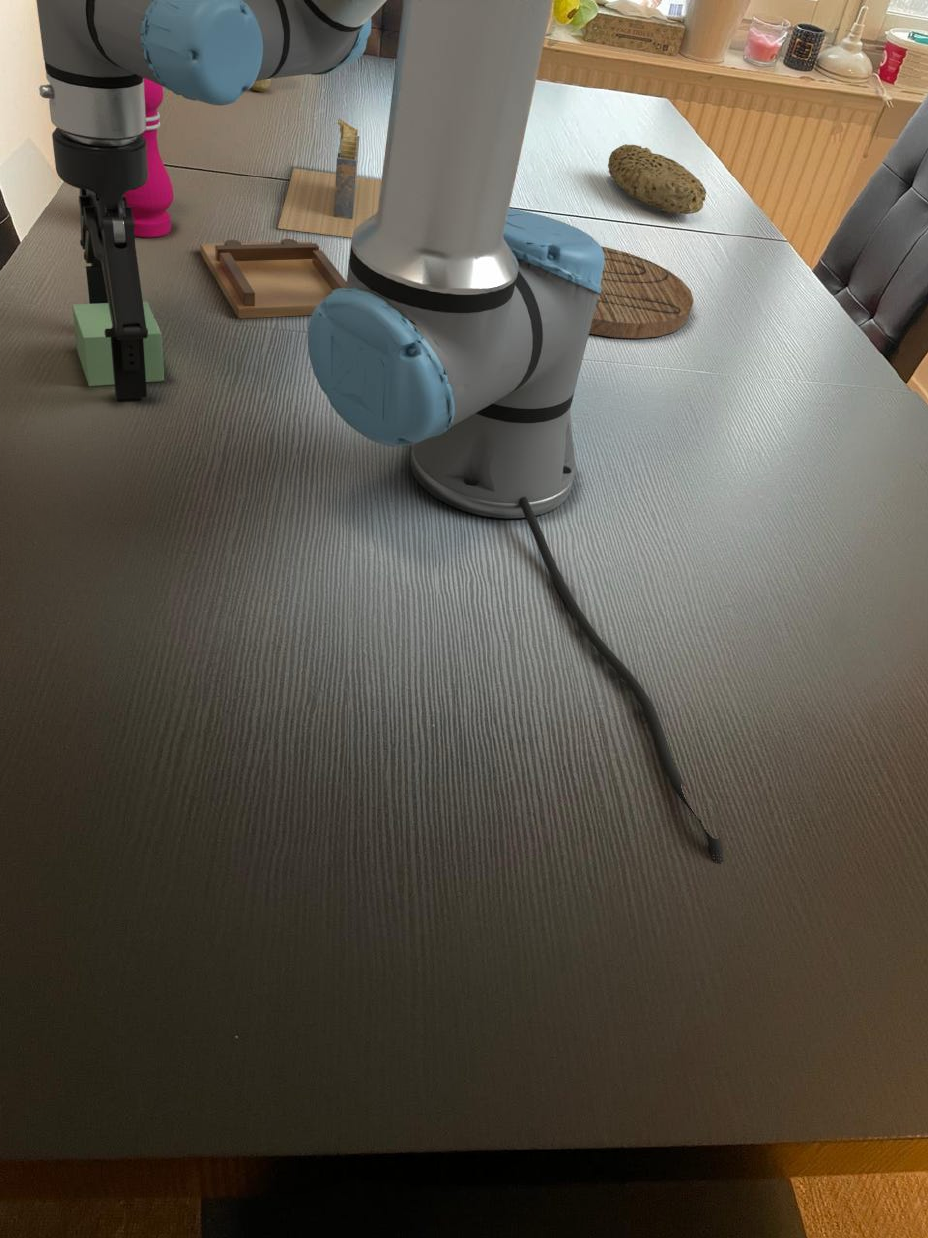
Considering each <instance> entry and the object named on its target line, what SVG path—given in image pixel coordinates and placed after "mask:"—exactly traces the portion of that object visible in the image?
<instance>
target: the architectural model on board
mask: <svg viewBox="0 0 928 1238" xmlns="http://www.w3.org/2000/svg"><path fill="white" fill-rule="evenodd" d="M337 125H338V126H339V132H340V137H339V146H338V151H337V157H336V167H335V173H331V172H324V171H317V170H316V171H315V170H309V169H301V168H295V167H294V168H293V169H292V173H291V177H290V180H289V185H288V188H287V192H286V196H285V199H284V203H283V207H282V210H281V214H280V216H279V217H280V218H279V222H278V225H277V229H280V230H287V231H296V232H302V233H303V232H304V233H312V234H319V235H326V236H327V235H328V236H333V237H343V238H351V239H352V235H353V232H354V230H355V229H356V228H357V227H358V226H359V225H360V224H362V223H363V222H364V221H366V220H367V219H369V218H370V217H372V216H373V215H374V214H376V212H377V210H378V205H379V197H380V188H381V180H382V179H375V178H369V177H360V176H357V175H358V163H359V151H360V150H359V149H360V148H359V147H360V135H358V133H359V132H358V129H357V128H355V127H353V126H351V125H349V124H348V123H347V122H345V121H344V120H342V119H341V118H338V121H337Z"/></svg>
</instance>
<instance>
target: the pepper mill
mask: <svg viewBox="0 0 928 1238" xmlns="http://www.w3.org/2000/svg"><path fill="white" fill-rule="evenodd" d="M143 79H144V93H145V114H146V130H145V131H144V132H143V133H142V134H141V135H142V136H143V137H144V138H145V140H146V144H147V162H148V179H147V182H146V183H145V184H144V185H143V186H142V187H140V188H138V189H135V190H130V191H128V192H126V193H125V194H124V195H123V196H126V200H127V207H131V209H132V214H133V221H134V222H135V228H134V235H135V237H137V238H145V239H146V238H147V239H148V238H151V239H152V238H161V237H163V236H166V235H168V234H170V232H171V230H172V222H171V221H172V220H171V214H170V213H169V212H168V209H169V208H170V207H171V205H172V204H173V202H174V188H173V184H172V181H171V177H170V175H169V173H168V171H167V169H166V167H165V166H166V165H165V164H164V162H163V159H162V157H161V154H160V150H159V144H158V143H159V142H158V129H159V128H160V127H161V121H160V118H161V114H160V112H158V111H157V110H158V108H159V107H160V106H161V104H162V103H163V100H164V87H163V86H161V85H159V84H157V83H155V82H152V81H150V80H148V79H146V78H144V77H143Z"/></svg>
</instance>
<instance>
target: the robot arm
mask: <svg viewBox="0 0 928 1238" xmlns="http://www.w3.org/2000/svg"><path fill="white" fill-rule="evenodd" d="M387 1H388V0H36V1H35V2H36V8H37V16H38V17H37V18H38V23H39V32H40V40H41V48H42V55H43V61H44V69H45V74H46V76H45V78H46V80H47V82H48V84H41V85H40V86H39V88H38V90H39V96H41V97H42V98H43V99H48V105H49V114H50V121H51V123H52V124H53V126H55V127H56V128H55V129H54V130H53V132H52V134H51V138H52V146H53V147H52V148H53V155H54V163H55V164H54V165H55V172H56V174H57V176H58V177H59V179H60V180H61V181H62V182H64V183H65V184H67V185H69V186H71V187H73V188H76V189H79V195H78V204H79V205H78V206H79V215H80V217H79V218H80V240H79V243H80V244H79V245H80V247H81V248H82V250H83V251H84V252H83V259H84V261H85V263H86V264H87V265H86V266H85V272H86V281H87V292H88V302H89V303H88V304H99V303H108V304H109V310H110V316H111V322H112V327H111V329H105V332H104V333H105V337H111V348H112V360H113V371H114V383H115V385H114V393H115V397H116V400H127V399H139V398H140V399H141V398H148V392H147V391H148V390H147V382H146V374H145V359H144V343H143V339H144V338H147V337H148V329H147V328H146V322H145V314H144V307H143V302H144V300H143V293H142V285H141V278H140V271H139V263H138V256H137V248H136V236H135V235H134V228H135V222H134V221H133V214H132V209H131V207H127V200H126V196H123V195H124V194H125V193H126V192H128V191H130V190H135V189H138V188H140V187H142V186H143V185H144V184H145V183H146V182H147V179H148V162H147V144H146V140H145V138H144V137H143V136H142V135H141V134H142V133H143V132H144V131H145V130H146V114H145V93H144V79H143V77H144V78H146V79H148V80H150V81H152V82H155V83H157V84H159V85H161V86H162V87H163V88H166V89H167V91H171V92H172V93H173V94H174V95H177V96H181V97H183V98H184V99H185V100H191V101H198V102H201V103H205V104H208V105H211V106H227V105H231V104H235V103H236V102H237V101H238V100H239V99H240V97H242V95H244V94H245V93H246V92H248V91H249V90H250V89H252V88H251V87H252V86H253V84H254V82H255V81H260V80H265V79H271V80H273V79H279V78H289V77H297V76H305V75H312V76H318V75H320V76H321V75H326V74H330V73H332V72H335V71H336V70H339V69H343V68H347V67H350V66H352V65H353V64H355V63H356V62H357V61H358V60H359V59H360V58H361V57H362V56H363V54H365V53H364V52H365V51H366V49H367V44H368V40H369V37H370V36H371V31H372V17H373V16H374V15H375V14H376V12H378V10H379V9H380V8H381V7H382V6H383V5H384V4H385V3H386V2H387ZM553 1H554V0H403V1H402V8H401V9H402V10H401V16H400V17H401V19H400V25H399V26H400V27H399V34H398V42H397V49H396V58H395V68H394V74H393V82H392V83H393V84H392V91H391V98H390V101H391V102H390V106H389V107H390V108H389V115H388V124H387V133H386V141H385V149H384V155H383V156H384V157H383V165H382V172H381V179H380V180H381V188H380V197H379V205H378V210H377V212H376V214H374V215H373V216H372V217H370V218H369V219H367V220H366V221H364V222H363V223H362V224H360V225H359V226H358V227H357V228H356V229H355V230H354V232H353V235H352V238H351V240H350V249H349V257H348V258H349V259H348V265H347V275H346V287H345V288H338V289H335V290H333V291H332V292H331V293H330V294H329V295H328V296H327V297H326V298H325V299H324V300H323V301H322V302H320V303H319V304H318V305H317V307H316V308H315V310H314V312H313V314H312V315H310V319H309V322H308V328H307V348H308V355H309V360H310V365H311V367H312V371H313V373H314V376H315V379H316V382H317V383H318V386H319V387H320V389H321V391H322V392H323V393H324V394H325V396H326V397H327V399H328V402H329V404H330V406H331V407H332V409H333V410H334V411H335V412H336V413H337V415H338V416H339V417H340V418H341V420H343V422H345V423H346V424H347V425H348V426H349V427H350V428H352V429H353V430H354V431H355V432H357V433H358V434H359V435H361V436H363V437H364V438H366V439H368V440H370V441H372V442H374V443H376V444H380V445H383V446H388V447H394V448H400V447H401V448H402V447H408V446H411V453H410V461H409V462H410V469H411V472H412V474H413V476H414V479H415V480H416V481H417V482H418V484H419V485H420V486H421V487H422V488H423V489H424V490H425V491H426V492H428V494H430V495H431V496H433V497H434V498H436V499H437V500H439V501H440V502H443V503H445V504H446V505H448V506H451V507H453V508H455V509H457V510H461V511H464V512H466V513H470V514H473V515H478V516H483V517H489V518H494V519H495V518H496V519H523V518H524V519H525V520H526V522H527V524H528V526H529V529H530V530H531V531H530V532H531V533H532V535H533V537H534V540H535V542H536V545H537V547H538V550H539V552H540V554H541V557H542V560H543V562H544V564H545V566H546V569H547V571H548V573H549V575H550V577H551V579H552V581H553V583H554V585H555V587H556V589H557V591H558V592H559V595H560V596H561V598H562V600H563V603H565V606H566V608H567V609H568V611H569V612H570V614H571V616H572V617H573V619H574V621H575V622H576V624H577V625H578V627H579V628H580V630H581V631H582V632H583V634H584V635H585V637H586V638H587V639H588V641H589V642H590V643H591V645H592V646H593V647H594V649H596V651H597V652H598V653H599V654H600V655H601V656H602V658H603V659H604V660H605V661H606V663H608V665H610V667H611V668H612V669H613V671H615V672H616V673H617V674H618V676H619V677H620V678H621V679H622V680H623V682H624V683H625V684H626V685H627V687H628V688H629V690H630V691H631V692H632V694H633V696H634V697H635V699H636V700H637V702H638V703H639V705H640V707H641V709H642V711H643V713H644V715H645V717H646V720H647V723H648V725H649V728H650V731H651V734H652V737H653V740H654V743H655V747H656V749H657V753H658V756H659V759H660V762H661V764H662V767H663V769H664V772H665V774H666V776H667V778H668V781H669V783H670V785H671V786H672V788H673V790H674V791H675V793H676V794H677V796H678V797H679V799H680V800H681V801H682V802H683V803H684V805H686V807H687V808H688V809H689V810H690V811H691V813H692V814H693V815H694V816H695V818H696V820H697V821H698V822H699V824H700V825H701V827H702V829H703V832H704V834H705V836H706V839H707V843H708V847H709V848H708V849H709V854H710V855H709V856H710V858H711V859H712V861H713V862H714V863H715V864H718V865H721V864H723V863H724V851H723V846H722V841H721V838H720V836H719V838H718V839H714V838H712V837H711V836H710V835H709V834H708V833H707V832H706V830H705V829H704V827H703V825H702V824H701V822H700V821H699V819H698V818H697V817H696V815H695V814H694V812H693V811H692V809H691V808H690V806H689V805H688V803H687V801H686V799H685V797H684V794H683V792H682V788H681V783H682V784H683V785H684V786H685V787H687V785H686V784H685V782H684V780H683V778H682V777H681V775H680V772H679V771H678V768H677V766H676V763H675V761H674V758H673V755H672V753H671V750H670V746H669V744H668V740H667V737H666V734H665V731H664V728H663V726H662V725H663V724H662V723H661V720H660V718H659V716H658V712H657V710H656V709H655V707H654V704H653V703H652V701H651V699H650V698H649V696H648V695H647V693H646V691H645V690H644V688H643V686H642V685H641V684H640V682H639V681H638V680H637V679H636V677H635V676H634V675H633V674H632V672H631V671H630V670H629V669H628V668H627V667H626V666H625V664H623V662H622V661H621V660H620V659H619V658H618V657H617V656H616V655H615V654H614V653H613V651H612V650H611V649H610V648H609V647H608V646H607V645H606V643H605V642H604V641H603V639H602V638H601V637H600V636H599V634H598V633H597V632H596V630H594V627H593V626H592V625H591V623H590V622H589V621H588V619H587V618H586V616H585V614H584V613H583V611H582V610H581V608H580V607H579V605H578V603H577V601H576V600H575V598H574V596H573V595H572V593H571V591H570V589H569V587H568V585H567V583H566V581H565V580H564V578H563V576H562V574H561V572H560V569H559V568H558V565H557V563H556V561H555V559H554V558H553V555H552V553H551V550H550V547H549V546H548V542H547V539H546V537H545V536H544V534H543V531H542V528H541V527H540V523H539V521H538V519H537V518H536V516H539V515H540V516H541V515H543V514H546V513H549V512H551V511H553V510H556V509H557V508H558V507H560V506H561V505H562V504H564V502H565V501H566V500H567V499H568V498H569V496H570V494H571V492H572V488H573V483H574V479H575V477H576V455H575V447H574V446H575V445H574V438H573V437H574V436H573V427H572V426H573V425H572V418H571V417H572V416H571V408H572V403H573V399H574V395H575V391H576V387H577V383H578V379H579V375H580V371H581V367H582V363H583V359H584V355H585V351H586V347H587V343H588V339H589V336H590V333H589V332H590V328H591V324H592V320H593V316H594V312H595V308H596V304H597V300H598V296H599V294H600V293H601V290H602V287H601V279H602V274H603V268H604V262H605V256H604V252H603V250H602V248H601V244H600V243H599V242H598V241H597V240H596V239H595V238H594V237H592V236H591V235H590V234H589V233H587V232H585V231H584V230H581V229H579V228H578V227H575V226H574V225H571V224H569V223H566V222H564V221H560V220H559V219H555V218H552V217H549V216H545V215H542V214H538V213H534V212H530V211H527V210H521V209H515V208H510V205H511V202H512V197H513V192H514V187H515V182H516V177H517V173H518V168H519V164H520V159H521V154H522V149H523V144H524V140H525V136H526V130H527V125H528V120H529V116H530V111H531V107H532V102H533V97H534V91H535V87H536V83H537V78H538V72H539V68H540V63H541V58H542V54H543V50H544V45H545V41H546V34H547V30H548V26H549V20H550V16H551V13H552V12H551V11H552V6H553ZM88 264H90V265H88ZM687 789H688V790H689V788H688V787H687ZM718 834H719V835H720V833H719V832H718ZM722 854H723V855H722ZM713 855H714V856H713ZM717 855H718V856H717ZM720 855H721V856H720ZM722 856H723V857H722ZM712 857H713V858H712ZM714 858H715V859H714ZM718 858H719V859H718ZM720 859H721V860H720ZM716 861H717V862H716ZM721 862H723V863H721Z"/></svg>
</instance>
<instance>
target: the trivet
mask: <svg viewBox="0 0 928 1238" xmlns="http://www.w3.org/2000/svg"><path fill="white" fill-rule="evenodd" d="M600 246H601V245H600ZM601 248H602V250H603V252H604V256H605V262H604V268H603V274H602V279H601V287H602V290H601V293H600V294H599V296H598V300H597V304H596V308H595V312H594V316H593V320H592V324H591V328H590V332H589V335H590V334H591V335H597V336H603V337H607V338H608V337H609V338H620V339H647V338H657V337H661V336H665V335H668V334H671V333H675V332H677V331H678V330H680V329H681V328H682V327H684V326H685V325H686V324H687V321H688V320H689V318H690V316H691V315H690V314H691V311H692V308H693V304H694V301H695V299H694V297H693V294H692V290H691V289H690V288H689V286H688V285H686V283H685V282H684V281H683V280H682V279H681V278H680V277H678V276H677V275H675V274H674V273H672V272H671V271H670V270H668V269H666V268H664V267H663V266H660V265H659V264H657V263H655V262H653V261H650V260H648V259H645V258H643V257H640V256H637V255H635V254H632V253H629V252H625V251H622V250H618V249H614V248H612V247H611V248H610V247H606V246H601Z"/></svg>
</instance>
